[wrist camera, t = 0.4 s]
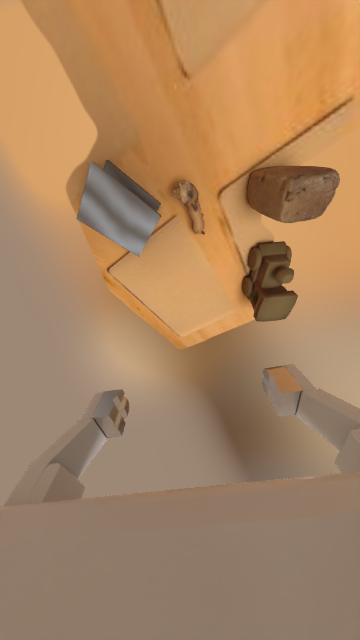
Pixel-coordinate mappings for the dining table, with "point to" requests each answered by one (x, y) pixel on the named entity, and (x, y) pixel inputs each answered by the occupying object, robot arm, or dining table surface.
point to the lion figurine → (191, 204)
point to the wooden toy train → (270, 281)
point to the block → (292, 192)
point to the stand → (118, 207)
